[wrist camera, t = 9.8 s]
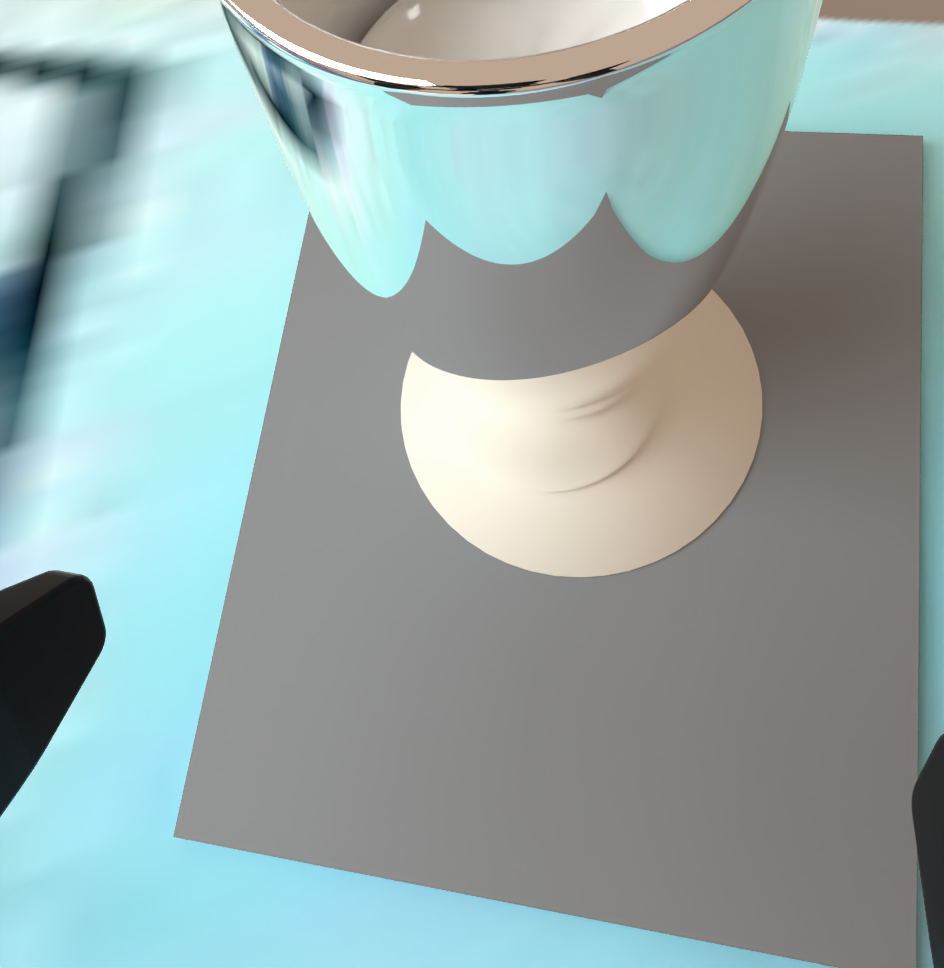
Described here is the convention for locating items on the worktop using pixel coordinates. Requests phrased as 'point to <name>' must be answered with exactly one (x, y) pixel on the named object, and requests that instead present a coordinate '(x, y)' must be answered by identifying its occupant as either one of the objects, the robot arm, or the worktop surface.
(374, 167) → the beer glass
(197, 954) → the worktop surface
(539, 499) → the slate mat
